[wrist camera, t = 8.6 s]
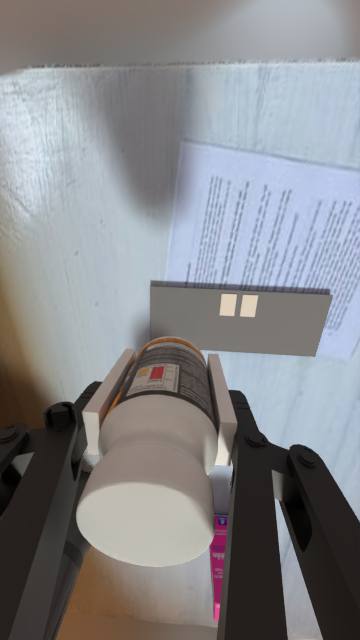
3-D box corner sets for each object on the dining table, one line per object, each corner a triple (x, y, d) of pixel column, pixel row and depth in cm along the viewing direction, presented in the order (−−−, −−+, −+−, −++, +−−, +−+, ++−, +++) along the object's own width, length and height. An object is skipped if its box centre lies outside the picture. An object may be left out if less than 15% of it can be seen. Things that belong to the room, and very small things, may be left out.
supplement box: (235, 513, 41) (252, 607, 30) (234, 530, 42) (249, 625, 31) (208, 512, 41) (214, 604, 30) (207, 529, 43) (213, 622, 32)
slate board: (151, 345, 29) (150, 347, 29) (151, 285, 27) (150, 286, 26) (312, 354, 29) (315, 357, 28) (329, 294, 26) (333, 295, 25)
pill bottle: (128, 340, 15) (26, 477, 6) (199, 327, 15) (216, 457, 5) (147, 399, 17) (91, 579, 7) (212, 389, 16) (241, 574, 7)
